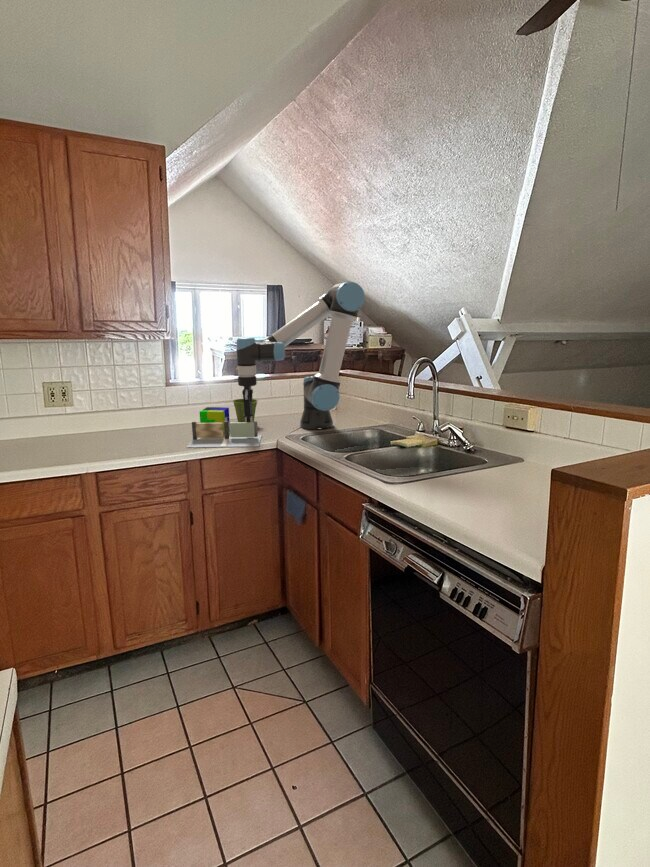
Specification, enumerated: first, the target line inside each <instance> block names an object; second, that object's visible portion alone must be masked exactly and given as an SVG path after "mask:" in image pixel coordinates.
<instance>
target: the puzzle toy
mask: <svg viewBox="0 0 650 867" xmlns="http://www.w3.org/2000/svg"><path fill="white" fill-rule="evenodd" d="M225 421H228V422H229V431H230V423H231V421H230V407H225V406H224V407H222V406H221V407H217V406H216V407H215V406H214V407H213V406H207V407H205V408H203V409H202V410H200V411H199V423H223V434H224V435H225V430H224V422H225Z"/></svg>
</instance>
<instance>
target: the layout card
mask: <svg viewBox="0 0 650 867" xmlns="http://www.w3.org/2000/svg"><path fill="white" fill-rule="evenodd" d="M262 436H263V435H262V434H258V437H230V434H229V439H225V434H224V437H214V438H197V439H196V440H194V439H193V438H192V440H191V441H190V442H189V444H188V445H186V449H192V448H193V449H201V448H202V449H204V448H206V449H209V448H210V449H211V448H215V449H216V448H259V447H260V443H261V440H262Z"/></svg>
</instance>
